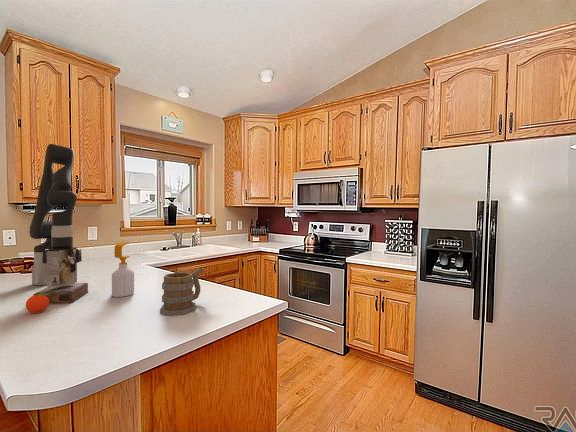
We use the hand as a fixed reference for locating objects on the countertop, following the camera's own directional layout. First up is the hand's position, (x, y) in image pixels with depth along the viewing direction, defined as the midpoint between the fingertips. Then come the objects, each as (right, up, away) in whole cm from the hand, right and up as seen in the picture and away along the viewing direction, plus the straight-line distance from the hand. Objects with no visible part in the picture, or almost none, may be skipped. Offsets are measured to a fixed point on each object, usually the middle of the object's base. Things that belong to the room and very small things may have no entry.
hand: (62, 272), depth 130 cm
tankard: (+59, -12, -11) cm, 61 cm away
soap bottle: (+23, -12, +7) cm, 27 cm away
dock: (0, -12, 0) cm, 12 cm away
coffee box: (0, -6, 0) cm, 6 cm away
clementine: (+5, -12, -17) cm, 22 cm away
